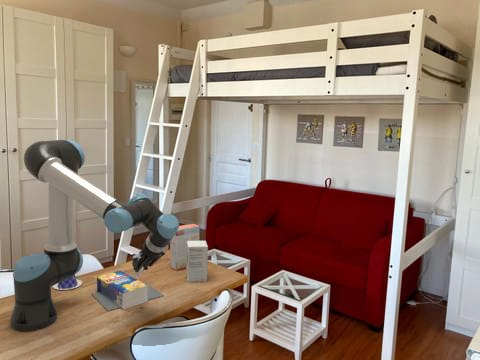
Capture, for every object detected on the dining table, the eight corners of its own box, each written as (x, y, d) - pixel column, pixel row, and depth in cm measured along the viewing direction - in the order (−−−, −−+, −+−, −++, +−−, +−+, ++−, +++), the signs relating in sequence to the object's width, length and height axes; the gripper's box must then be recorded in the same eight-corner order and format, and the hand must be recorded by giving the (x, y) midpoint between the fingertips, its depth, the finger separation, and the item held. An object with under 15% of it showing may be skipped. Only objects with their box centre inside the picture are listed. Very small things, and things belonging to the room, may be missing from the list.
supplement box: (186, 274, 196) (186, 240, 193) (205, 273, 197) (205, 239, 195) (187, 282, 186) (187, 246, 184) (207, 281, 188) (208, 246, 186)
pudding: (71, 292, 172) (71, 281, 171) (46, 289, 174) (46, 278, 174) (87, 281, 184) (87, 270, 183) (63, 279, 186) (63, 268, 185)
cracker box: (193, 261, 213) (193, 222, 210) (199, 265, 208) (200, 225, 205) (169, 267, 204) (169, 226, 201) (175, 271, 199) (176, 229, 196)
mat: (107, 311, 156) (107, 310, 156) (91, 294, 170) (91, 293, 170) (164, 296, 171) (164, 295, 171) (145, 282, 185) (145, 281, 185)
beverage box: (147, 285, 165) (120, 270, 180) (123, 293, 157) (96, 276, 172) (147, 301, 166) (120, 284, 181) (123, 309, 158) (97, 291, 173)
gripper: (141, 256, 142) (123, 286, 157) (175, 250, 150) (154, 278, 165) (135, 238, 145) (117, 268, 160) (168, 232, 153) (148, 262, 168)
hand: (136, 273), depth 163 cm, fingers closed
